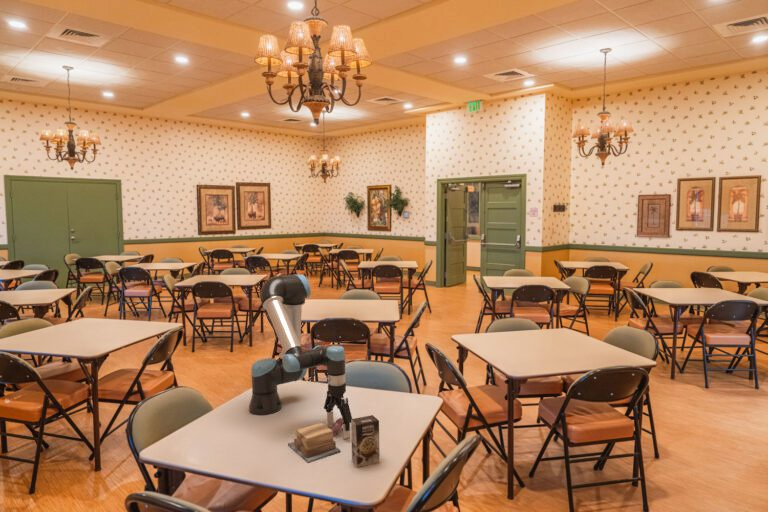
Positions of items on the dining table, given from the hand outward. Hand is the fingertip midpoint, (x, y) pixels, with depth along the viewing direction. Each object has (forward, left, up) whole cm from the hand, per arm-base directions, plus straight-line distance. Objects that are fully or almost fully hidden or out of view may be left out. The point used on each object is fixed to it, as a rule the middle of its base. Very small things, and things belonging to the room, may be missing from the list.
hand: (338, 432), depth 209 cm
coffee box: (+28, -4, 0) cm, 28 cm away
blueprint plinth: (+7, -15, 0) cm, 16 cm away
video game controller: (-1, 0, 0) cm, 1 cm away
